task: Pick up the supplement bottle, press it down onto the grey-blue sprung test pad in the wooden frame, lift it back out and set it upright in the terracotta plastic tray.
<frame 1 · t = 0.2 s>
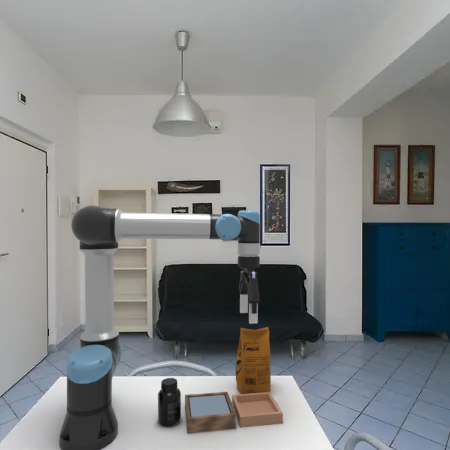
hand: (248, 317, 115), 28 cm above the table, tool pointing down, fingers open, 13 cm apart
wooden frame: (208, 417, 103), on the table
coffee package: (252, 389, 122), on the table
supplement bottle: (169, 421, 101), on the table
test pad: (208, 407, 103), point 3 cm above the table, slide at 0.3 cm
tray: (256, 413, 106), on the table
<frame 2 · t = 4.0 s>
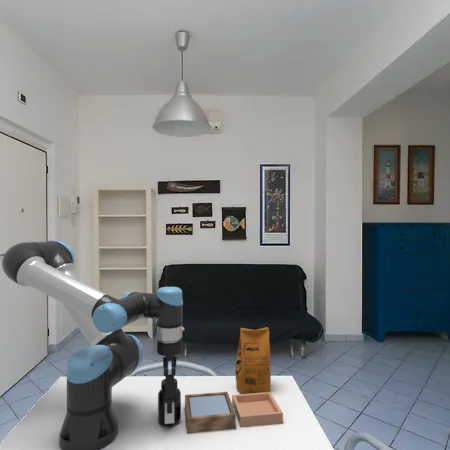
hand: (169, 415, 101), 2 cm above the table, tool pointing down, fingers closed on supplement bottle, 7 cm apart
supplement bottle: (169, 421, 101), on the table, touching gripper
everything else where it was.
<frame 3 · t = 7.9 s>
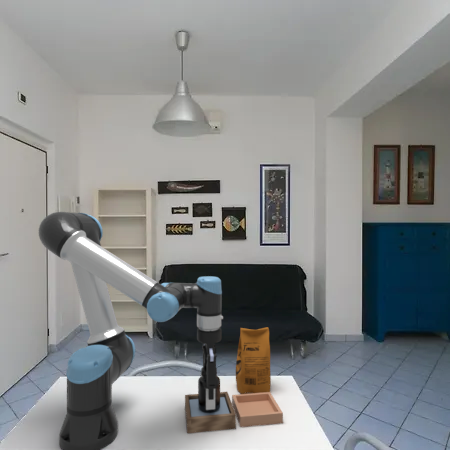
hand: (209, 402, 103), 5 cm above the table, tool pointing down, fingers closed on supplement bottle, 7 cm apart
supplement bottle: (209, 408, 103), point 3 cm above the table, touching gripper, test pad
test pad: (208, 409, 103), point 3 cm above the table, slide at 1.0 cm, touching supplement bottle
everything else where it was.
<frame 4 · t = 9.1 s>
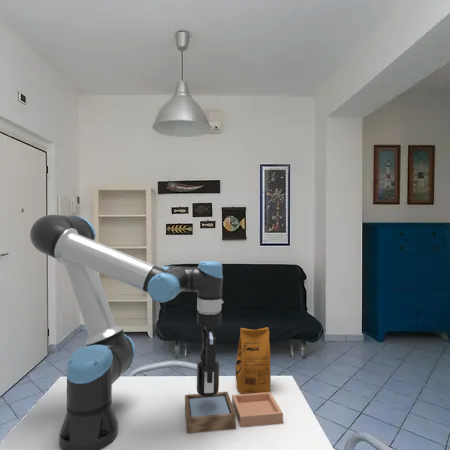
hand: (207, 386, 103), 10 cm above the table, tool pointing down, fingers closed on supplement bottle, 7 cm apart
supplement bottle: (207, 392, 103), point 8 cm above the table, touching gripper
test pad: (208, 408, 103), point 3 cm above the table, slide at 0.7 cm
everything else where it was.
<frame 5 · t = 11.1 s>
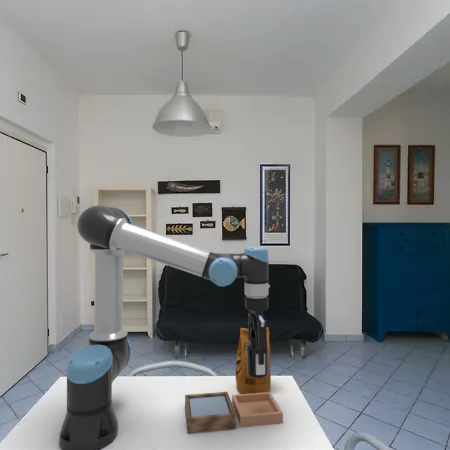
hand: (257, 368, 106), 14 cm above the table, tool pointing down, fingers closed on supplement bottle, 7 cm apart
supplement bottle: (257, 374, 106), point 12 cm above the table, touching gripper
everything else where it was.
when the fingers open (4 cm above the table, at t = 12.8 s): supplement bottle drops 1 cm, resting on tray.
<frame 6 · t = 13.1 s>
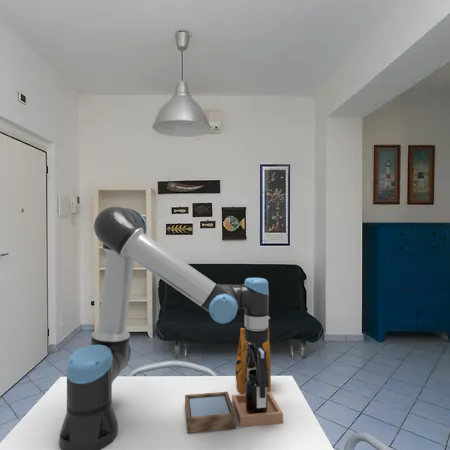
hand: (256, 397, 106), 5 cm above the table, tool pointing down, fingers open, 11 cm apart
supplement bottle: (256, 411, 106), point 1 cm above the table, touching tray
everything else where it was.
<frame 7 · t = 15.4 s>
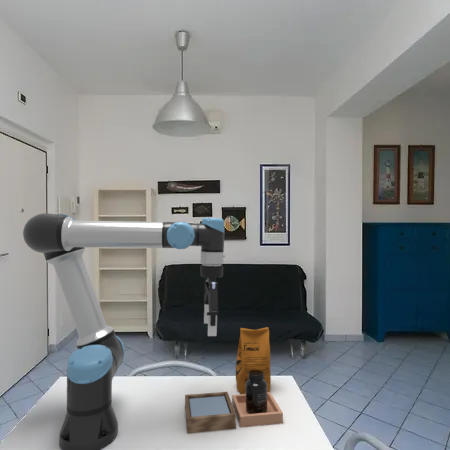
hand: (209, 329, 110), 25 cm above the table, tool pointing down, fingers open, 13 cm apart
nothing on the table moved.
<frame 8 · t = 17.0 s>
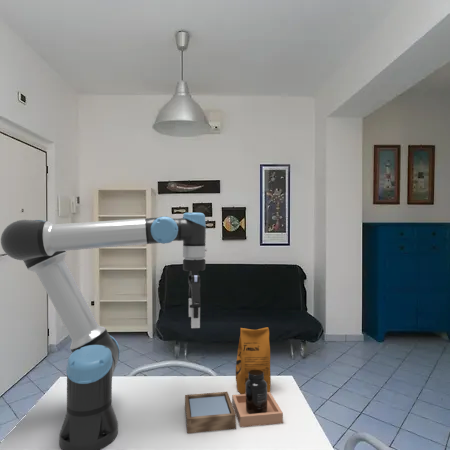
hand: (193, 321, 113), 27 cm above the table, tool pointing down, fingers open, 13 cm apart
nothing on the table moved.
at the end: supplement bottle 0.1 cm off-centre on the tray, point 0.6 cm above the tray's base; supplement bottle tilted 0°; the gripper is holding nothing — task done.
